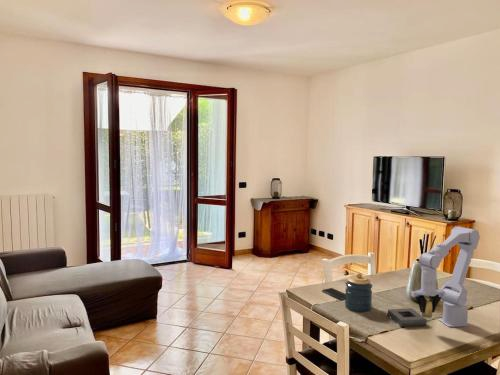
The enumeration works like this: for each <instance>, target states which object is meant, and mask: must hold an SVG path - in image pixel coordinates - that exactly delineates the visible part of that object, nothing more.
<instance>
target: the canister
mask: <svg viewBox="0 0 500 375" xmlns="http://www.w3.org/2000/svg"><path fill="white" fill-rule="evenodd" d="M346 280H347V281H346V282H345V286H346V287H345V294H346V295H345V299H344V305H345V308H346V309H348V310H349V311H353V312H357V313H366V312H370V311H371V310H372V307H373V306H372V305H373V303H372V302H373V300H372V298H373V291H372V288H373V284H372V283H371V282H372V281H371V279H370V278H368V277H367V276H365V275H362V273H361V272H357V273H356V274H352V275H350V276H348V277H347V278H346Z"/></svg>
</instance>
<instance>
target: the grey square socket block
mask: <svg viewBox="0 0 500 375" xmlns="http://www.w3.org/2000/svg"><path fill="white" fill-rule="evenodd" d="M387 317H389V318H390V317H391V318H392V319H393V320H394V321H393V320H392V319H391V318H390V319H391V320H392V321H393V322H394V323H395V324H397V323H398V324H399V325H398V324H397V325H398V326H399V327H400V328H406V327H407V328H408V327H409V328H410V327H423V326H427V318H426V317H423V316H422V314H420V313H419V312H418V311H416V310H415V309H413V308H412V307H411V308H409V307H408V308H394V309H393V308H391V309H387Z"/></svg>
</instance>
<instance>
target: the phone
mask: <svg viewBox="0 0 500 375" xmlns="http://www.w3.org/2000/svg"><path fill="white" fill-rule="evenodd" d="M321 291H322V293H324V294H325V295H328V296H330V297H331V298H333V299H336V300H338V301H345V295H346V292H342V291H340V290H338V289H336V288H334V287H328V288H324V289H322V290H321Z"/></svg>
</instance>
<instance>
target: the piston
mask: <svg viewBox="0 0 500 375" xmlns="http://www.w3.org/2000/svg"><path fill="white" fill-rule="evenodd" d="M425 299H427V301H426V304H425V312H424V313H422V312H421V316H423V317H424V318H426V319H432V317H433V312H432V309H433V300H431V299H430V298H429V297H428V298H426V297H425Z"/></svg>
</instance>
